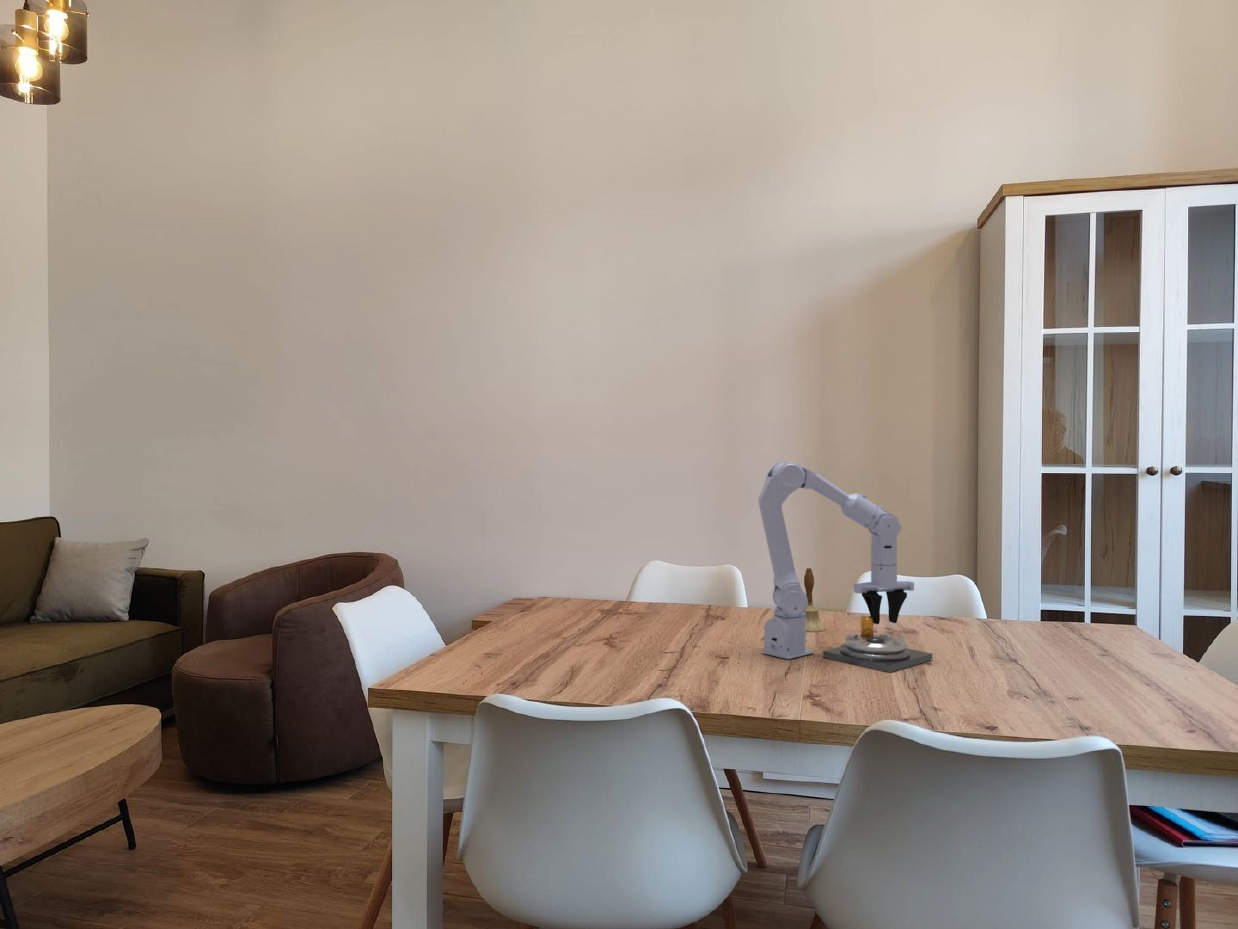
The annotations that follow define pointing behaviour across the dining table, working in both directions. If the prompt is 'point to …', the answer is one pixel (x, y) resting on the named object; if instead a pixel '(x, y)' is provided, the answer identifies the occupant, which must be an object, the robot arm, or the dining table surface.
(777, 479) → the robot arm
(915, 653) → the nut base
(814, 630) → the hand bell
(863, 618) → the grey crank wheel
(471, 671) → the dining table surface
